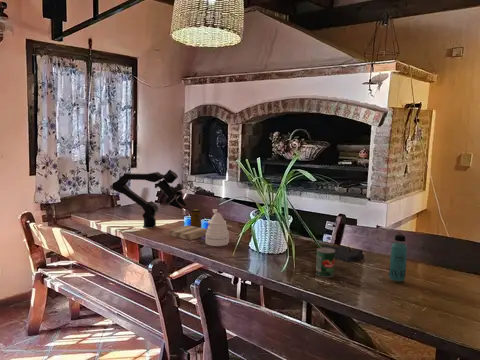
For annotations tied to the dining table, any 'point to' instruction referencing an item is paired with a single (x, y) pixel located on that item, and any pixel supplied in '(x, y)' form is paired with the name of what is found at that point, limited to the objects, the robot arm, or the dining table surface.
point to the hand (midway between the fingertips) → (183, 207)
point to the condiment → (196, 218)
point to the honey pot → (217, 231)
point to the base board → (188, 232)
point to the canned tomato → (325, 262)
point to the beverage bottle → (398, 259)
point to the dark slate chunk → (346, 253)
